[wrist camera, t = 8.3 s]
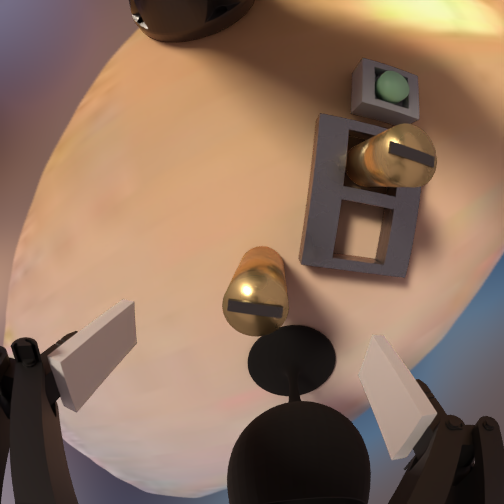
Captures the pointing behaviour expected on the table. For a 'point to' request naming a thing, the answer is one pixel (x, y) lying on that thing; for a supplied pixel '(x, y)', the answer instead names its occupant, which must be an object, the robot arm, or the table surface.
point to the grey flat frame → (332, 192)
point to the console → (376, 109)
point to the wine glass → (297, 431)
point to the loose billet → (257, 293)
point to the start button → (391, 87)
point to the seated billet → (393, 159)
